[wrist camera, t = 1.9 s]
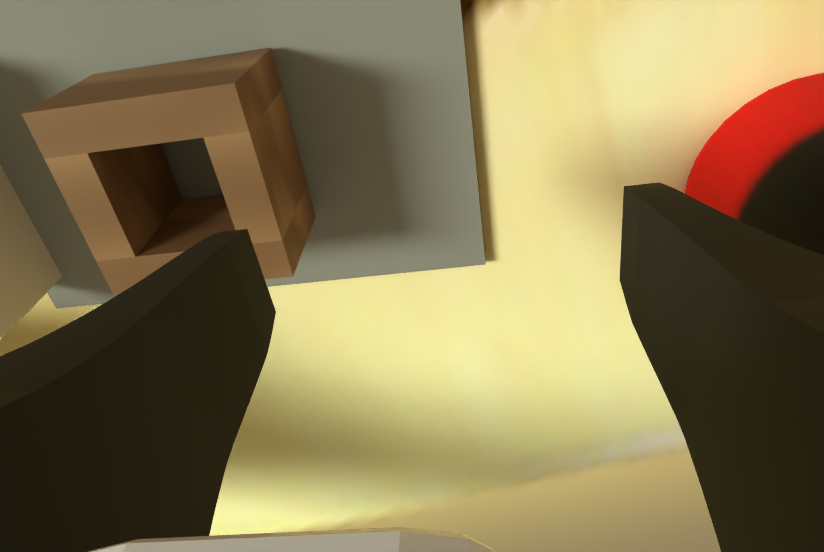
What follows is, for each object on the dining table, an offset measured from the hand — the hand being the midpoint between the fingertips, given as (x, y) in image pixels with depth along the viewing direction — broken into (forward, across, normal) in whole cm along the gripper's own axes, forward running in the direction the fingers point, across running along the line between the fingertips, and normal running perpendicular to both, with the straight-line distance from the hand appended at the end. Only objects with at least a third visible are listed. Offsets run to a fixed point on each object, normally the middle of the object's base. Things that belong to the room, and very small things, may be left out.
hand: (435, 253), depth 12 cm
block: (+10, +8, +1) cm, 13 cm away
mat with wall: (+10, +8, +1) cm, 13 cm away
